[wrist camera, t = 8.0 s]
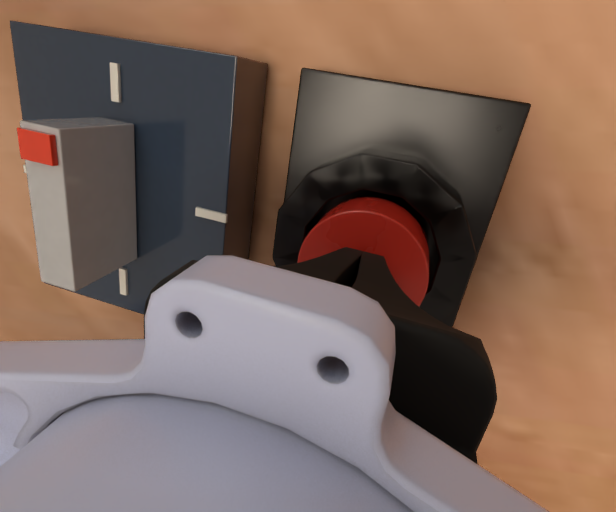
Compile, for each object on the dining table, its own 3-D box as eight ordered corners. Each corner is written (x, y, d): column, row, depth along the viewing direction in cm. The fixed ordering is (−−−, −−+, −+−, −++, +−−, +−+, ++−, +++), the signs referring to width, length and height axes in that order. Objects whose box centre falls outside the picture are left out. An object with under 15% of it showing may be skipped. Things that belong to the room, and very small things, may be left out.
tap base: (245, 308, 21) (217, 340, 18) (86, 262, 23) (39, 283, 20) (270, 63, 16) (237, 56, 14) (68, 31, 18) (2, 18, 16)
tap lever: (137, 258, 18) (69, 295, 15) (108, 250, 18) (34, 284, 15) (134, 123, 16) (52, 129, 12) (100, 116, 16) (11, 120, 13)
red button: (411, 318, 15) (409, 348, 14) (304, 289, 16) (289, 313, 14) (444, 211, 14) (446, 228, 12) (322, 184, 14) (306, 197, 13)
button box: (431, 363, 19) (431, 414, 16) (278, 318, 21) (251, 356, 18) (520, 103, 14) (546, 103, 11) (313, 70, 16) (285, 63, 13)
